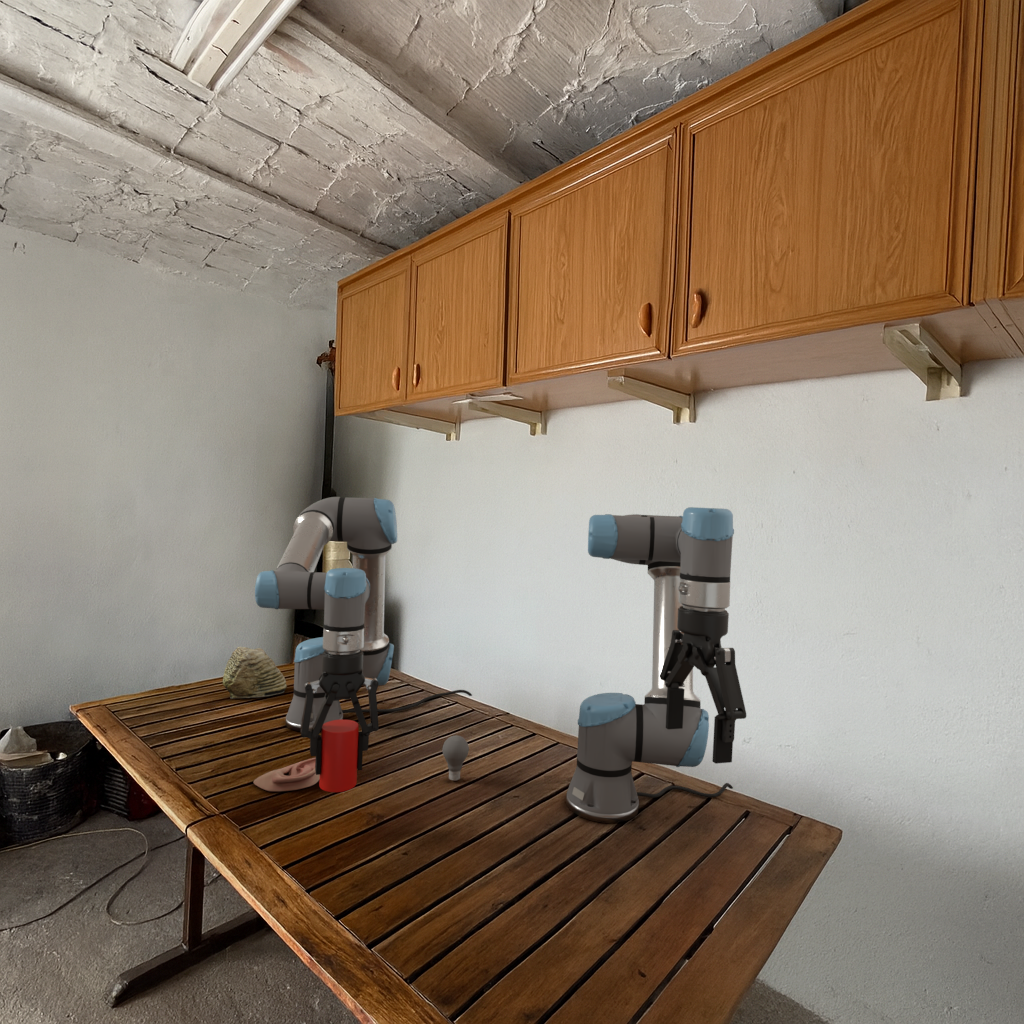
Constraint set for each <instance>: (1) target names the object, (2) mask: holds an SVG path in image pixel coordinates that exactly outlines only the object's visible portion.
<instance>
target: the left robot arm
mask: <svg viewBox="0 0 1024 1024" xmlns="http://www.w3.org/2000/svg"><path fill="white" fill-rule="evenodd" d="M396 514H397V513H396V508H395V504H394V502H393V501H392V500H390V499H386V498H377V497H345V496H331V497H326V498H323V499H320V500H317V501H315V502H314V503H312V504H310V505H308V506H307V507H306V508H304V509H303V510H302V511H301V512H300V513H299V515H298V516H297V517H296V519H295V521H294V523H293V527H292V528H293V529H292V531H293V534H292V536H291V538H290V540H289V543H288V545H287V546H286V548H285V550H284V552H283V555H282V556H281V558H280V560H279V562H278V564H277V566H276V568H275V570H273V569H271V570H264V571H263V570H262V571H260V572H259V573H258V574H257V577H256V579H255V580H256V581H255V586H254V599H255V603H256V605H257V606H258V607H259V608H263V609H273V610H274V609H275V610H324V611H323V612H324V614H323V616H324V617H323V631H322V632H323V633H322V636H321V637H315V638H310V639H307V640H303V641H302V642H300V643H298V645H296V648H295V654H294V660H293V662H294V672H293V673H294V674H293V695H292V696H293V697H292V699H291V702H290V704H289V708H288V711H287V713H286V715H285V726H286V728H287V729H289V730H291V731H294V732H295V731H296V732H300V736H301V738H303V739H304V738H307V739H309V741H310V742H309V755H310V756H311V757H315V758H316V761H315V771H316V775H320V771H321V744H322V739H321V728H322V726H323V724H324V723H326V722H329V721H333V720H344V714H353V713H355V715H356V717H357V721H358V724H359V727H360V729H361V730H359V736H358V762H357V771H362V770H363V753H364V752H367V751H368V750H369V742H370V741H369V740H370V739H369V738H370V734H371V733H373V732H377V731H379V729H380V726H379V725H380V724H379V713H394V712H402V711H406V710H409V709H412V708H415V707H417V706H420V705H421V704H423V703H425V702H426V701H429V700H433V699H435V698H439V697H445V696H450V695H454V694H455V695H456V694H466V695H467V696H469V697H472V696H473V694H472V693H471V691H468V690H465V689H456V690H451V691H446V692H441V693H435V694H432V695H429V696H426V697H423V698H422V699H420V700H419V701H417V702H414V703H411V704H408V705H406V706H402V707H396V708H383V709H382V708H378V700H377V691H378V687H379V686H381V687H382V686H385V685H386V684H388V682H389V679H390V674H391V669H392V663H393V656H394V650H395V645H394V644H393V643H391V642H390V638H389V636H388V635H387V634H386V633H385V595H386V594H385V593H386V592H385V591H386V585H385V584H386V558H387V557H386V555H387V554H388V553H389V552H391V550H392V547H393V546H392V545H394V544H396V543H397V542H398V524H397V515H396ZM329 542H342V543H343V542H344V543H346V550H347V551H348V552H349V553H350V554H352V567H337V568H331V569H328V571H327V572H318V571H317V572H316V571H315V570H316V567H317V565H318V562H319V560H320V557H321V555H322V552H323V549H324V547H325V545H327V544H328V543H329ZM362 687H365V688H366V690H367V697H368V707H369V708H365V709H364V708H363V709H362V705H361V704H360V700H359V698H358V695H357V693H358V692H359V691H360V689H361V688H362ZM340 700H344V701H349V700H350V701H351V704H352V707H353V708H352V709H342V706H341V702H340ZM364 713H369V719H370V720H369V721H370V722H369V723H367V720H366V718H365V716H364Z"/></svg>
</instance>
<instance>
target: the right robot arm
mask: <svg viewBox="0 0 1024 1024" xmlns="http://www.w3.org/2000/svg"><path fill="white" fill-rule="evenodd" d="M734 534H735V529H734V514H733V511H732V510H731V509H728V508H718V507H717V508H715V507H693V506H690V507H686V508H685V509H684V510H683V514H682V515H678V516H677V515H674V516H673V515H657V514H656V515H653V514H652V515H651V514H637V513H636V514H635V513H634V514H633V513H632V514H624V515H620V514H619V515H617V514H611V513H610V514H609V513H606V514H593V515H591V516H590V518H589V521H588V535H587V553H588V555H589V556H590V557H593V558H598V559H599V558H601V559H604V560H614V561H617V562H621V563H625V564H631V565H639V566H647V575H648V576H649V577H650V578H651V579H652V580H653V617H652V618H653V622H652V625H653V626H652V629H653V630H652V666H651V667H652V669H651V671H652V674H651V675H652V676H651V689H650V690H649V691H648V692H647V693H646V694H645V695H644V704H642V703H641V704H640V703H636V700H635V697H633V696H632V695H631V694H628V693H622V692H602V693H597V694H593V695H590V696H588V697H586V698H584V699H583V700H582V701H581V703H580V706H579V713H578V714H579V715H578V719H577V725H578V731H577V732H578V733H577V750H576V767H575V769H574V772H573V775H572V778H571V780H570V782H569V786H568V788H567V791H566V798H565V799H566V801H565V802H566V806H567V807H568V808H567V809H569V811H571V812H572V813H574V815H577V816H578V817H581V818H583V819H585V820H589V821H592V822H596V823H603V824H604V823H605V824H618V823H624V822H627V821H630V820H632V819H633V818H635V817H636V816H638V813H639V808H640V806H639V805H640V800H639V797H643V798H644V797H645V798H651V799H656V798H660V797H661V796H663V795H664V794H665V793H666V792H667V791H671V790H675V791H676V790H677V791H682V792H687V793H690V794H693V795H695V796H699V797H703V798H708V799H709V798H717V797H720V796H721V795H722V794H723V793H724V792H725V790H726V789H727V788H728V789H731V790H732V789H734V787H733V785H731V784H730V783H729V782H726V783H725V782H724V784H723V785H722V787H721V788H720V789H719V791H717V792H715V793H706V792H701V791H697V790H695V789H691V788H689V787H685V786H681V785H669V786H665V787H664V788H663V789H661V790H660V791H659V792H657V793H648V792H640V791H637V789H636V785H635V781H634V777H633V773H632V771H633V770H632V767H633V766H632V765H633V762H635V763H643V764H651V765H662V766H671V767H672V766H673V767H676V768H680V767H685V768H686V767H687V768H696V767H698V766H699V765H700V764H701V763H702V762H703V760H704V757H705V753H706V750H707V746H708V745H707V744H708V738H709V730H710V722H709V720H710V715H709V712H708V710H706V709H704V708H701V699H700V698H699V697H698V696H697V694H695V692H694V668H696V669H697V670H699V671H700V674H701V675H702V676H704V677H705V680H706V683H707V687H708V689H709V692H710V694H711V698H712V701H713V703H714V706H715V709H716V712H717V714H716V715H715V716H714V721H713V722H714V723H713V742H712V743H713V744H712V760H711V761H712V762H713V763H714V764H728V763H732V762H733V746H734V741H735V732H736V720H742V719H743V720H744V719H746V718H747V711H746V706H745V702H744V697H743V692H742V688H741V684H740V679H739V675H738V670H737V666H736V650H735V648H734V647H722V643H721V642H722V641H721V639H722V638H723V637H725V636H726V635H728V633H729V616H730V613H729V612H728V610H727V608H729V607H730V603H731V570H732V569H731V568H732V554H733V553H732V552H733V538H734Z"/></svg>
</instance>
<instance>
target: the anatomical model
mask: <svg viewBox="0 0 1024 1024" xmlns="http://www.w3.org/2000/svg"><path fill="white" fill-rule="evenodd" d="M315 761H316V757H312V758H308V759H305V760H301V761H299V762H296V763H293V764H290V765H287V766H285V767H281V768H278V769H273V770H271V771H268V772H265V773H264V774H262V775H259V776H258V777H257V778H255V779H254V780H253V784H254V785H255V786H257V787H258V788H259V789H262V790H263V791H264V790H265V791H267V792H289V791H297V790H301V789H305V788H309V787H312V786H314V785H316V784H317V783H319V778H320V775H316V771H315Z"/></svg>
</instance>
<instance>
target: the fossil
mask: <svg viewBox="0 0 1024 1024" xmlns="http://www.w3.org/2000/svg"><path fill="white" fill-rule="evenodd" d="M222 676H223V677H222V685H223V687H224V688H225V690H226V691H228V693H229V698H230V699H250V698H264V697H271V696H275V695H281V694H284V693H285V691H286V689H287V687H288V686H287V680H286V678H285V676H284V674H283V673H282V672H281V669H279V668H278V667H277V665H276V663H275V662H274V660H273V659H272V658H271V657H270V656H269V655H268V654H267V653H266V652H265V650H264V649H263V648H260V647H258V648H251V647H247V646H246V647H245V646H238V647H237V648H236V649H235V650H233V651H232V653H231V656H230V657H229V659H228V660H227V663H226V666H225V668H224V671H223V675H222Z"/></svg>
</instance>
